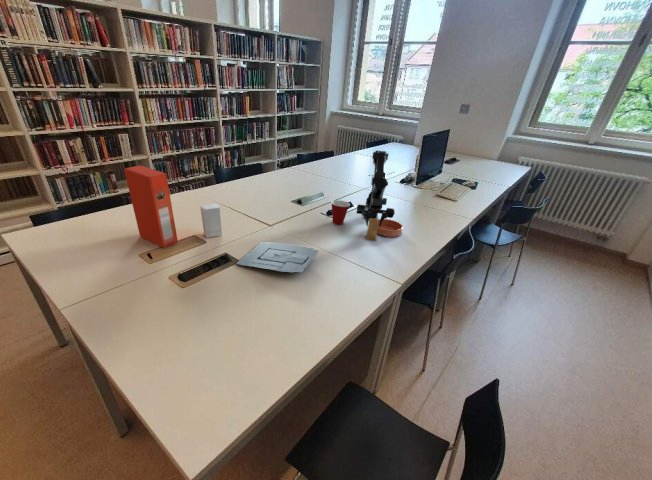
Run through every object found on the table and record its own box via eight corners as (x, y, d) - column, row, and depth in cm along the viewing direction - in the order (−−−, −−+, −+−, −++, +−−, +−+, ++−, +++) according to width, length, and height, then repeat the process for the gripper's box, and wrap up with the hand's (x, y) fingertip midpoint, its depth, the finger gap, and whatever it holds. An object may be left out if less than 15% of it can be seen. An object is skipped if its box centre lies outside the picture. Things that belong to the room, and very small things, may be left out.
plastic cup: (350, 221, 183) (353, 201, 177) (343, 228, 174) (346, 207, 168) (332, 217, 187) (334, 197, 180) (325, 223, 178) (327, 203, 172)
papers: (300, 280, 126) (300, 272, 124) (235, 269, 137) (234, 262, 135) (320, 254, 146) (320, 246, 144) (262, 246, 156) (262, 239, 154)
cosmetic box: (219, 231, 162) (217, 203, 154) (222, 236, 157) (220, 207, 150) (203, 233, 159) (199, 204, 151) (205, 238, 154) (202, 209, 146)
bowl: (369, 233, 171) (370, 226, 169) (376, 223, 183) (378, 216, 181) (398, 240, 166) (399, 233, 164) (403, 229, 178) (405, 223, 176)
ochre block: (366, 239, 165) (369, 221, 159) (366, 235, 168) (369, 218, 163) (375, 240, 164) (378, 222, 159) (375, 236, 168) (378, 219, 163)
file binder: (162, 248, 144) (149, 177, 127) (139, 237, 151) (123, 168, 134) (177, 242, 149) (166, 173, 133) (154, 231, 157) (141, 165, 140)
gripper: (360, 188, 158) (355, 218, 155) (398, 193, 156) (395, 223, 152) (358, 198, 169) (354, 226, 165) (394, 203, 167) (390, 231, 163)
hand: (373, 226), depth 161 cm, fingers open, 6 cm apart
